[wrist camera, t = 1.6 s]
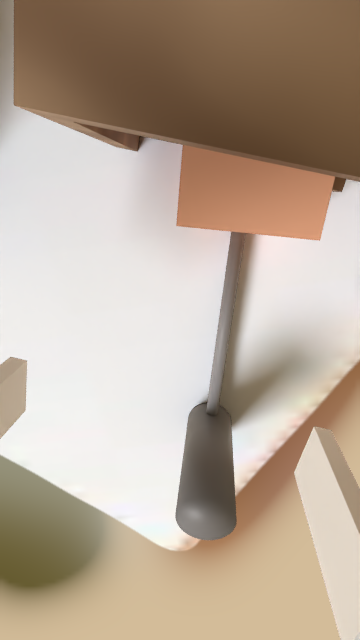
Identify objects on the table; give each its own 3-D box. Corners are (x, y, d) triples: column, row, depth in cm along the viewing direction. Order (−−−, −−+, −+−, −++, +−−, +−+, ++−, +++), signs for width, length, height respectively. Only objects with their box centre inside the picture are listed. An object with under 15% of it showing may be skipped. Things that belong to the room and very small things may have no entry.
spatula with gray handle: (199, 96, 18) (184, 28, 10) (315, 105, 17) (389, 41, 10) (168, 432, 26) (148, 530, 18) (246, 443, 25) (257, 548, 18)
